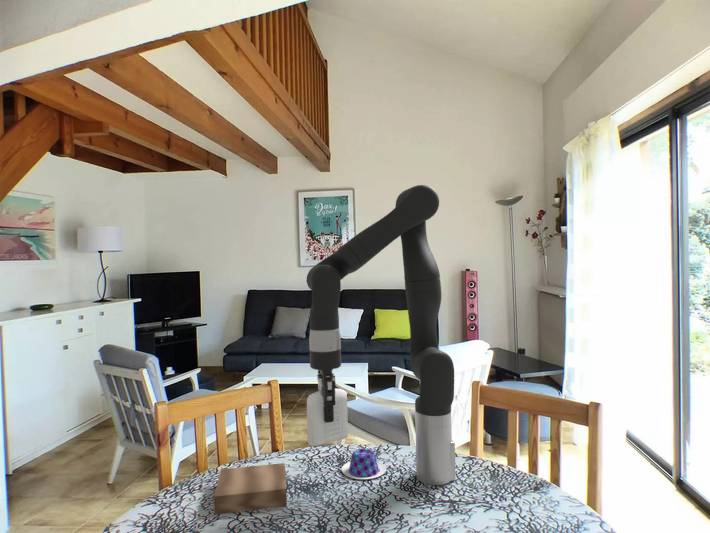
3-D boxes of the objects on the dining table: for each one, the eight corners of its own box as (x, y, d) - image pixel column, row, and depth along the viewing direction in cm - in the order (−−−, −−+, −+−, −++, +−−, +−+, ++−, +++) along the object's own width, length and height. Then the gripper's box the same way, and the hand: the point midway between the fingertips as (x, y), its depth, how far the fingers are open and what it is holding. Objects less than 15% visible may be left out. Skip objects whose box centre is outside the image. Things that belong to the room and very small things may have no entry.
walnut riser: (284, 478, 116) (284, 463, 116) (286, 506, 103) (286, 488, 103) (221, 485, 113) (220, 469, 113) (214, 514, 100) (214, 496, 100)
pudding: (347, 460, 127) (346, 442, 127) (389, 463, 125) (388, 444, 125) (336, 480, 116) (336, 459, 116) (382, 483, 113) (382, 463, 113)
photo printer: (342, 433, 112) (340, 384, 112) (351, 438, 108) (349, 387, 109) (305, 443, 106) (303, 391, 107) (313, 448, 103) (311, 395, 103)
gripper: (345, 351, 101) (347, 426, 101) (336, 341, 115) (338, 407, 115) (312, 354, 100) (314, 429, 100) (307, 343, 114) (309, 410, 114)
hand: (327, 417), depth 108 cm, fingers closed on photo printer, 5 cm apart
